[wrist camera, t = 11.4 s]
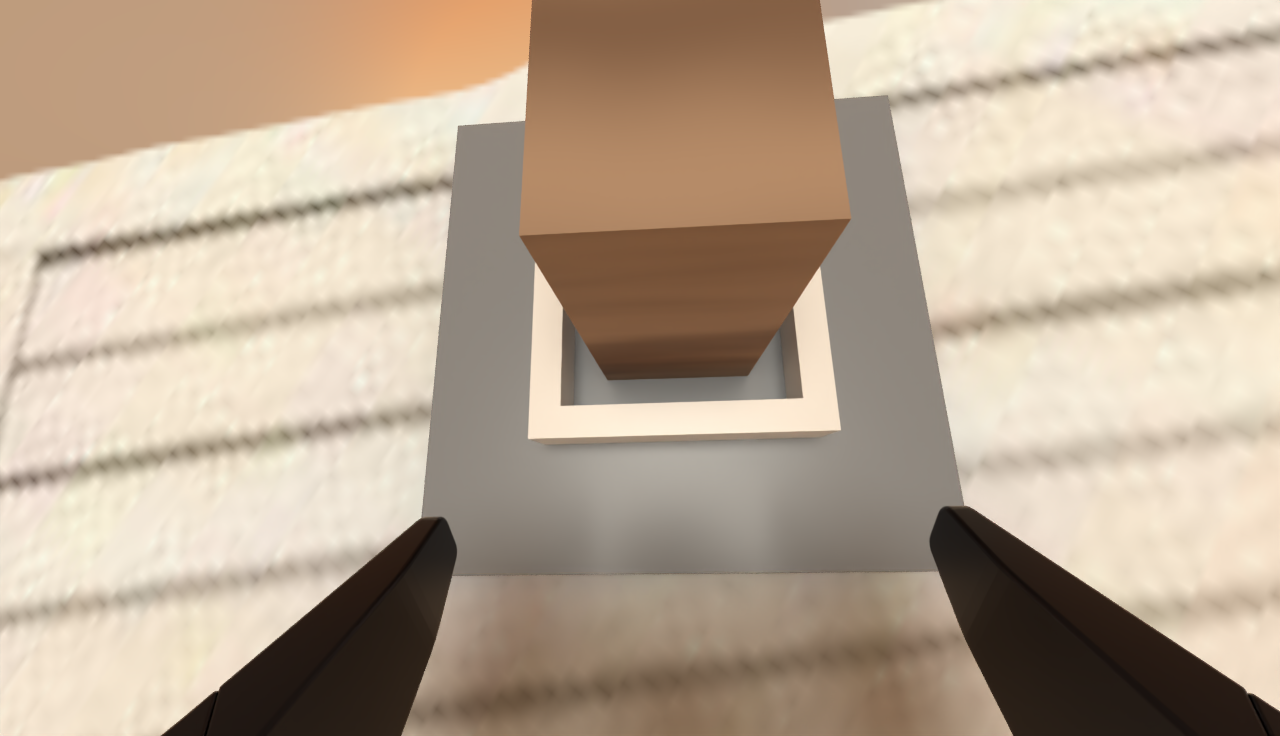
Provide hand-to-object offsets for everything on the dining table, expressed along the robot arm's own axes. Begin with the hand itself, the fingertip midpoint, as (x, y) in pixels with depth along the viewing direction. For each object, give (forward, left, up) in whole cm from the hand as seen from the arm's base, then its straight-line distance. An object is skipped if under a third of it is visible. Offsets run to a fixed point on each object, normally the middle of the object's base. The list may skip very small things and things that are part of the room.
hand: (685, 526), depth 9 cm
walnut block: (+7, 0, -7) cm, 10 cm away
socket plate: (+7, 0, -8) cm, 11 cm away
